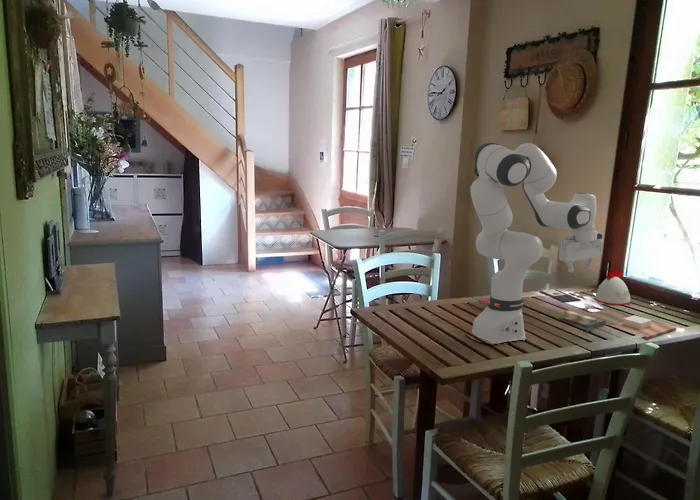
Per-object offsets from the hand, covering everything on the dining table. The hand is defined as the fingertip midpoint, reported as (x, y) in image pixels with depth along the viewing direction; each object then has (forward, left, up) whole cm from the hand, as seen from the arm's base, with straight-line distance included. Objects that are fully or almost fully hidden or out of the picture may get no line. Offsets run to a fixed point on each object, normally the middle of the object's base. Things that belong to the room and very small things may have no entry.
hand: (579, 270), depth 202 cm
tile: (+15, -15, -20) cm, 30 cm away
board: (+15, -11, -21) cm, 28 cm away
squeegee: (0, -2, -22) cm, 22 cm away
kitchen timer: (+36, +10, -22) cm, 43 cm away
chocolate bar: (+25, +29, -22) cm, 44 cm away
